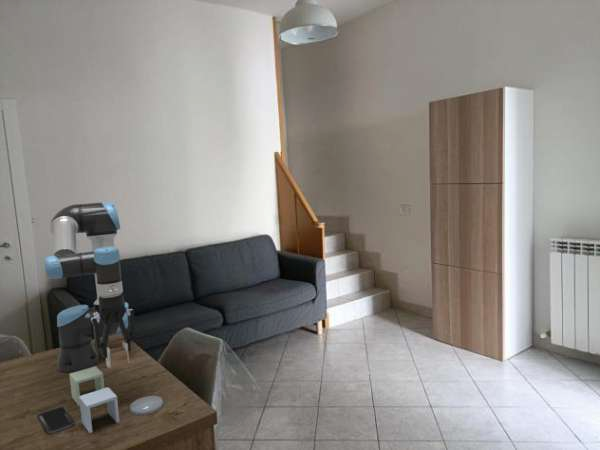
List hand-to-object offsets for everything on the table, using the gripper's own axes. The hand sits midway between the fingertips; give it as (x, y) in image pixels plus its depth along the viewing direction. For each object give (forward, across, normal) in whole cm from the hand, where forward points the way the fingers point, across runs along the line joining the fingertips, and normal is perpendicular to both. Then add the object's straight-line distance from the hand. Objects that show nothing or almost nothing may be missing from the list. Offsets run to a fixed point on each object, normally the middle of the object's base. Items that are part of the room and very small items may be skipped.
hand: (117, 363), depth 153 cm
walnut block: (0, 0, 0) cm, 0 cm away
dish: (+13, +5, -10) cm, 17 cm away
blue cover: (+13, -9, -9) cm, 18 cm away
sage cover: (+13, -7, +12) cm, 19 cm away
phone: (+14, -19, +2) cm, 24 cm away
